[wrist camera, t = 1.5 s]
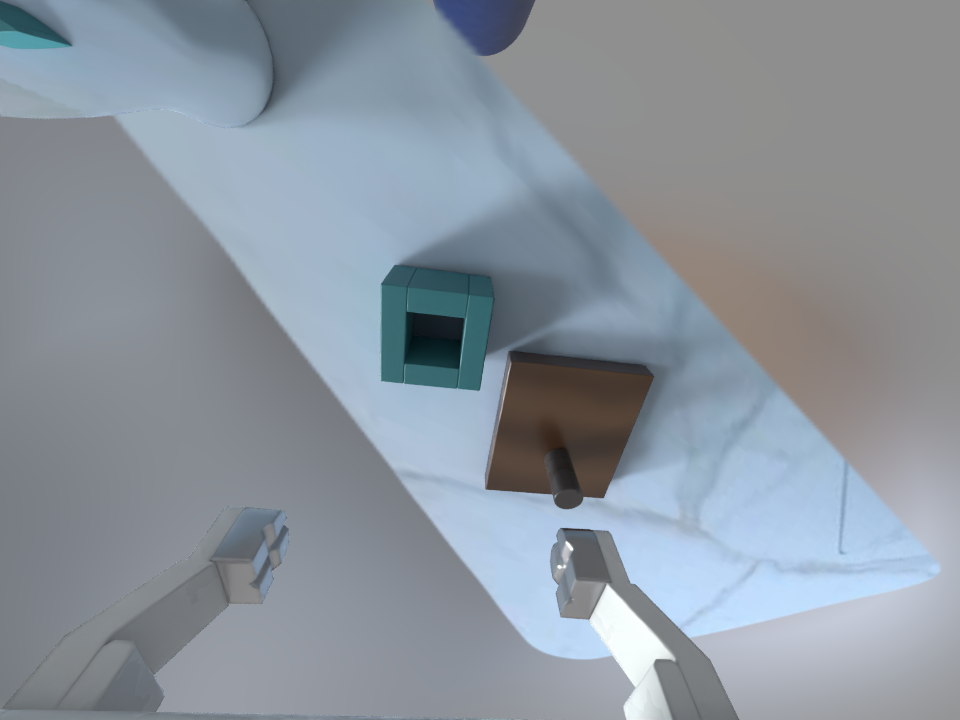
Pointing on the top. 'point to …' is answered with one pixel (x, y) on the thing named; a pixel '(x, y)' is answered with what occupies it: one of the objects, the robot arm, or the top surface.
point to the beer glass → (134, 59)
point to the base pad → (563, 425)
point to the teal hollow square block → (429, 355)
